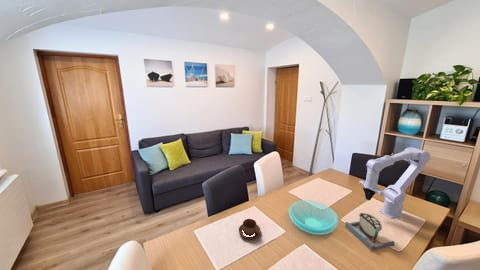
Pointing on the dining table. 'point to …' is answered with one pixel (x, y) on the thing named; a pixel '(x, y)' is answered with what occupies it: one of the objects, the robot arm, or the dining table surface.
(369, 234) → the food container
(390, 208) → the robot arm
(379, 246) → the grey piece
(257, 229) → the cup and saucer
